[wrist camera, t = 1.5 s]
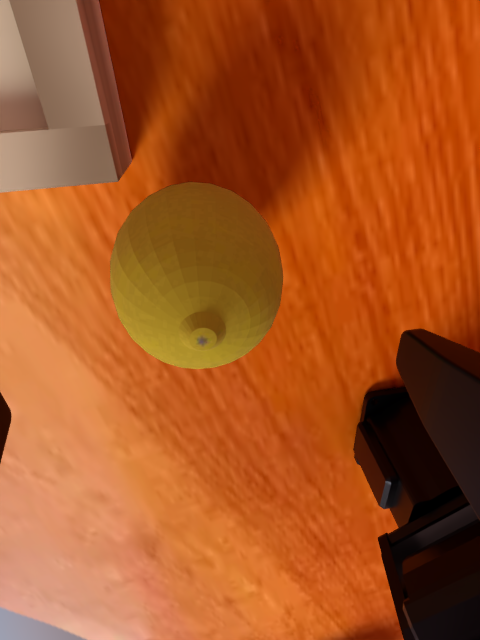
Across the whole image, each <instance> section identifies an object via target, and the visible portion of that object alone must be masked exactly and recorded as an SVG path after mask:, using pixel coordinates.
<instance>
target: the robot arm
mask: <svg viewBox="0 0 480 640" xmlns="http://www.w3.org/2000/svg"><path fill="white" fill-rule="evenodd" d="M396 365H397V369H398V371H399V373H400V375H401V378H402V380H403V382H404V384H405V386H406V387H401V388H394V389H387V390H380V391H373V392H370V393H368V394H367V395H366V396H365V397H364V401H363V407H362V413H361V419H360V422H359V424H358V425H357V431H356V437H355V443H354V449H353V450H354V453H355V455H354V458H355V460H356V462H357V464H359V465H360V466H361V468H362V470H363V472H364V474H365V476H366V479H367V481H368V483H369V485H370V487H371V489H372V492H373V494H374V496H375V498H376V500H377V502H378V505H379V506H380V507H382V508H383V509H387V508H390V511H391V513H392V515H393V517H394V519H395V521H396V523H397V525H398V527H399V528H398V529H396V530H394V531H393V532H391V533H389V534H388V533H385V534H383V535H381V536H379V537H378V541H379V545H380V549H381V553H382V554H381V556H382V560H383V564H384V567H385V571H386V575H387V579H388V582H389V586H390V590H391V594H392V597H393V601H394V605H395V609H396V612H397V616H398V620H399V624H400V627H401V631H402V635H403V638H404V640H480V353H479V352H477V351H474V350H472V349H469V348H467V347H465V346H462V345H460V344H458V343H455V342H453V341H450V340H448V339H446V338H443V337H441V336H439V335H436V334H434V333H431V332H429V331H427V330H424V329H413V330H406V331H404V332H403V333H402V335H401V338H400V343H399V348H398V353H397V357H396ZM10 423H11V411H10V408H9V407H8V405H7V403H6V401H5V400H4V398H3V396H2V394H1V392H0V463H1V459H2V455H3V451H4V447H5V443H6V439H7V435H8V431H9V427H10Z"/></svg>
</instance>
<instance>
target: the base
mask: <svg viewBox="0 0 480 640" xmlns="http://www.w3.org/2000/svg"><path fill="white" fill-rule="evenodd" d="M131 162H132V158H131V153H130V148H129V144H128V139H127V134H126V129H125V124H124V119H123V115H122V110H121V105H120V100H119V95H118V90H117V86H116V81H115V76H114V71H113V66H112V61H111V57H110V52H109V47H108V42H107V37H106V32H105V28H104V23H103V18H102V13H101V8H100V4H99V0H0V192H11V191H22V190H33V189H43V188H54V187H65V186H76V185H87V184H98V183H108V182H118V181H119V180H120V178H121V177H122V175H123V174H124V172H125V171H126V170H127V168H128V167H129V165H130V164H131Z"/></svg>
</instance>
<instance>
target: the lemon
mask: <svg viewBox="0 0 480 640" xmlns="http://www.w3.org/2000/svg"><path fill="white" fill-rule="evenodd" d="M110 282H111V293H112V297H113V300H114V303H115V307H116V310H117V313H118V316H119V319H120V321H121V322H122V324H123V325H124V327H125V329H126V330H127V332H128V333H129V335H130V336H131V338H132V339H133V340H134V341H135V342H136V343H137V344H138V345H139V346H141V347H142V348H143V349H144V350H145V351H146V352H147V353H149V354H150V355H152V356H154V357H155V358H157V359H159V360H161V361H163V362H165V363H168V364H171V365H174V366H178V367H182V368H192V369H203V368H214V367H218V366H221V365H224V364H228V363H231V362H233V361H235V360H236V359H238V358H240V357H242V356H244V355H246V354H247V353H248V352H249V351H250V350H252V349H253V348H254V347H255V346H256V345H257V344H259V342H260V341H261V340H262V339H263V337H264V336H265V335H266V333H267V332H268V331H269V329H270V328H271V326H272V324H273V321H274V319H275V316H276V314H277V311H278V309H279V306H280V301H281V294H282V285H283V270H282V264H281V258H280V252H279V248H278V245H277V243H276V241H275V238H274V236H273V234H272V232H271V230H270V228H269V226H268V224H267V222H266V221H265V220H264V218H263V217H262V216H261V215H260V214H259V213H258V211H257V210H256V209H255V208H254V207H253V205H252V204H250V203H249V202H248V201H246V200H245V199H243V198H242V197H240V196H239V195H237V194H236V193H235V192H233V191H231V190H228V189H225V188H222V187H220V186H217V185H214V184H211V183H199V182H186V183H181V184H175V185H170V186H168V187H166V188H164V189H161V190H159V191H157V192H155V193H153V194H151V195H149V196H148V197H147V198H146V199H145V200H143V201H142V202H141V203H140V204H139V205H138V206H137V207H135V208H134V209H133V210H132V211H131V213H130V214H129V216H128V217H127V219H126V221H125V222H124V224H123V225H122V227H121V228H120V230H119V232H118V234H117V237H116V241H115V245H114V248H113V252H112V255H111V261H110Z"/></svg>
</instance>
